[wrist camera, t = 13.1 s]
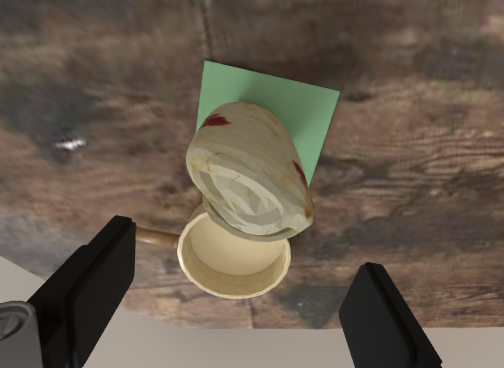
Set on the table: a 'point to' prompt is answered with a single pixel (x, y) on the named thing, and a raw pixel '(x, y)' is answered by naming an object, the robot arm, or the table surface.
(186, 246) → the pan
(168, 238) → the brown rod
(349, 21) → the table surface
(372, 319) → the robot arm
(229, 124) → the food model
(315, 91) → the napkin
